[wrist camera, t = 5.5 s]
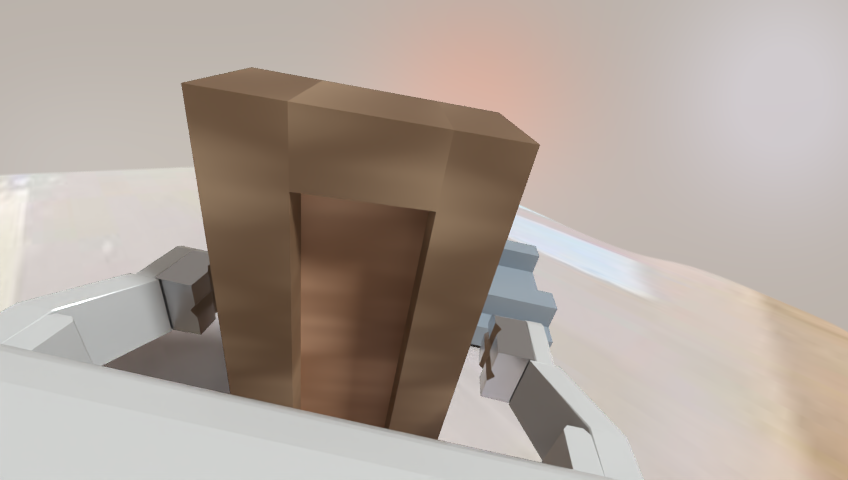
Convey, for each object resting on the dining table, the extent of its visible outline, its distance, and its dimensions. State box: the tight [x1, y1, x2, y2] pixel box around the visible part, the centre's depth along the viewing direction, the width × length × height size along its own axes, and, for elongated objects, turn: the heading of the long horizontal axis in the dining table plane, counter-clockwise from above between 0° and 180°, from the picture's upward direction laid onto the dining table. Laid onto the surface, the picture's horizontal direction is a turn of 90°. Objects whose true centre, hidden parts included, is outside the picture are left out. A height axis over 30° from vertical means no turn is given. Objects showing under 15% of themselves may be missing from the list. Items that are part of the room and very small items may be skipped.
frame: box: [181, 67, 540, 440], centre depth 11 cm, size 6×3×14 cm, turn 94°
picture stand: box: [471, 240, 557, 348], centre depth 25 cm, size 20×10×3 cm, turn 84°
